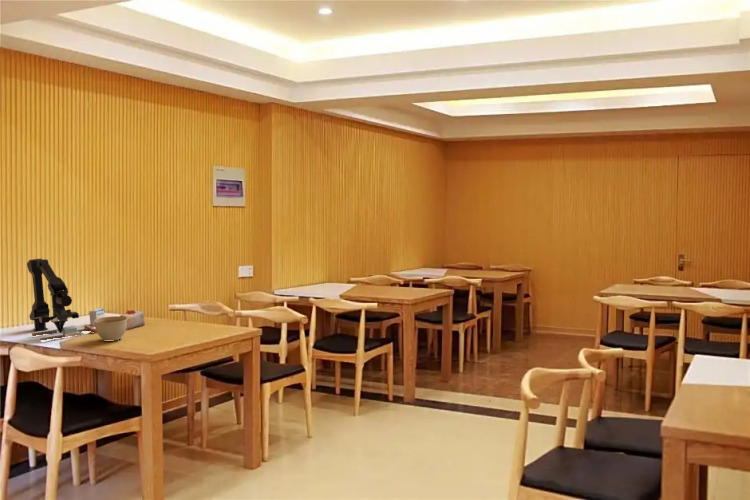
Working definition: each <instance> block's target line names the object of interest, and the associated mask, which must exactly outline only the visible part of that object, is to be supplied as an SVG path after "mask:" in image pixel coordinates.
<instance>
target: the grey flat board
mask: <svg viewBox="0 0 750 500" xmlns="http://www.w3.org/2000/svg"><path fill="white" fill-rule="evenodd" d="M83 327H84V328H82V329H77V332H76V333H69V334H63V335H62V334H60V333H59V331H58V329H57V328H56V329H51V330H50V329H49V330H42V331H36V332H32V333H31V336H36V335H43V334H51V335H53V334H52V333H58V334H59V335H57V334H56V335H53V336H44V337H41V338H39V341H40V340H47V339H53V338H62V337H68V336H75V335H81V336H82V333H81V332H82V331H91V332H94V333H96V334H98V333H97V331H96V328H95V327H94V326H90V325H89V324H84V326H83ZM94 333H93V334H94Z"/></svg>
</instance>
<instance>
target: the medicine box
mask: <svg viewBox="0 0 750 500" xmlns="http://www.w3.org/2000/svg"><path fill="white" fill-rule="evenodd" d="M88 313H89V324H90V325H89V326H91V327H95V323H94V320H96V319H99V318H104V317H105V309H104V308H101V307H100V308H95V309H92V310H89V312H88Z"/></svg>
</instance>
